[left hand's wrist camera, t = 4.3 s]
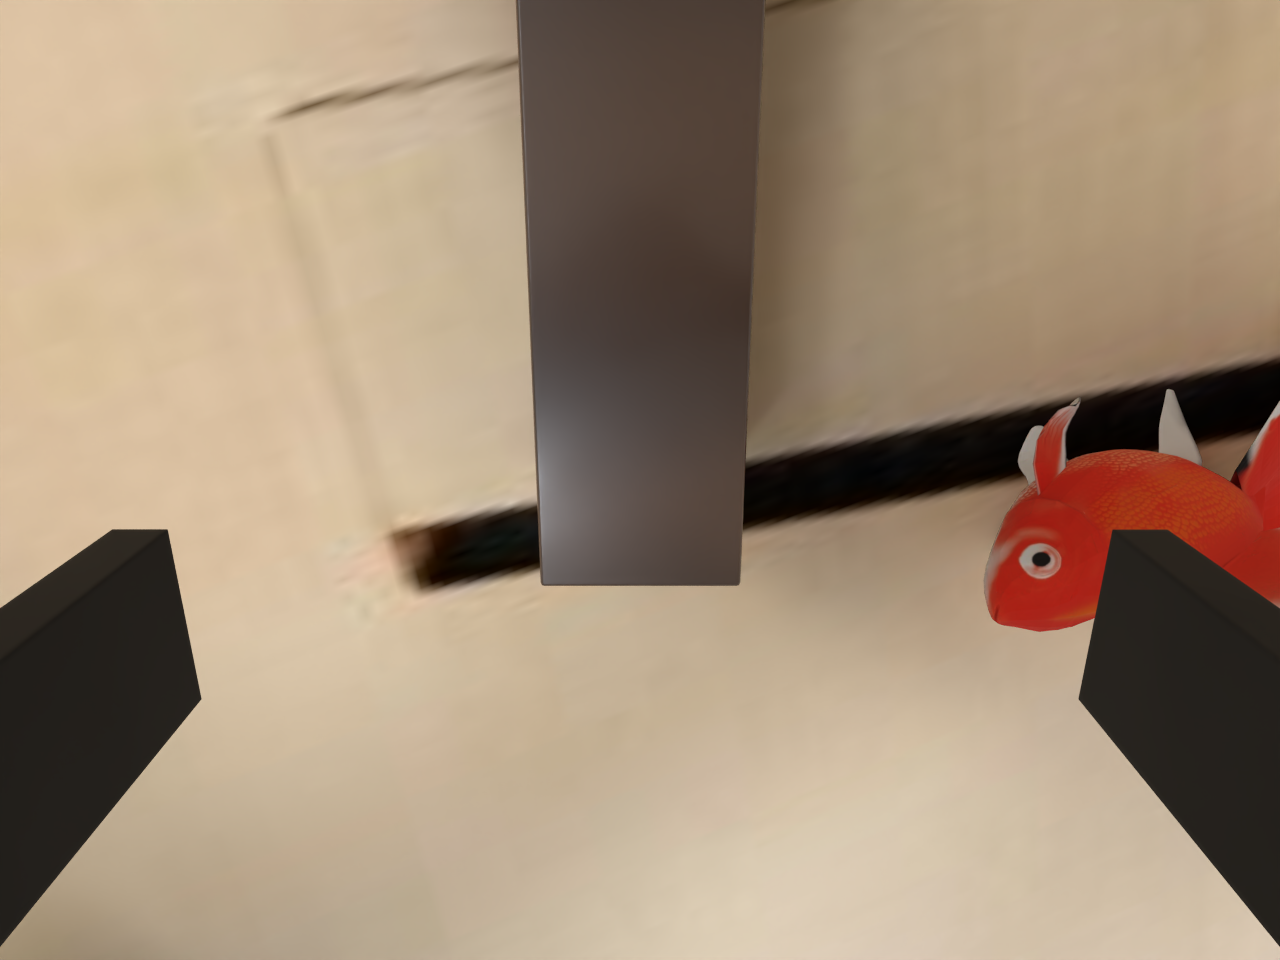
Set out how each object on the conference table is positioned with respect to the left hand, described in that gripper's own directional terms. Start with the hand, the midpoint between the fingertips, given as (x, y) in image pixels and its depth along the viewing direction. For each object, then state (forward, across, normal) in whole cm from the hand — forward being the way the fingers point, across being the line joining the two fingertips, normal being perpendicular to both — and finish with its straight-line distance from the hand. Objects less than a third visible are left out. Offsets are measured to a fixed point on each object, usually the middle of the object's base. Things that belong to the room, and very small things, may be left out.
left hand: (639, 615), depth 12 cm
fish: (+17, -17, +2) cm, 24 cm away
